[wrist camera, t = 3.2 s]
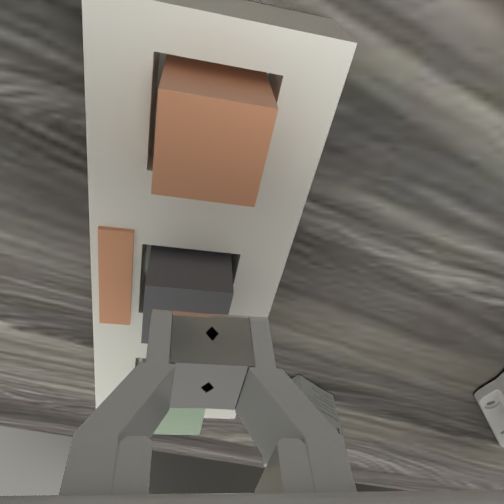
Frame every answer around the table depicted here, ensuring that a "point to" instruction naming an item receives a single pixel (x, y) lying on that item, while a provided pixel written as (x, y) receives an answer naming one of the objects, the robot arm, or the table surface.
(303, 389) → the product box
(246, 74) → the terracotta button
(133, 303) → the button panel
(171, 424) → the sage green button
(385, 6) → the table surface
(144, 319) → the charcoal button
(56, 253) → the table surface
